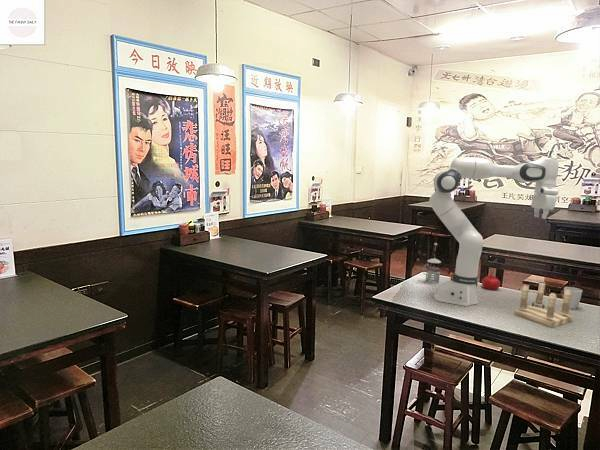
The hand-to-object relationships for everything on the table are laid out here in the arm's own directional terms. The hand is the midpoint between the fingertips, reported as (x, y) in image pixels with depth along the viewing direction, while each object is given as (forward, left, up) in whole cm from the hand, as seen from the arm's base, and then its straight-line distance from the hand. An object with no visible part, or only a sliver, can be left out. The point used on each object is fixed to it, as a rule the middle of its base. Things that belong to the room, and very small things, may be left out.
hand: (540, 217), depth 211 cm
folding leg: (+3, -4, -43) cm, 43 cm away
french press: (-48, +26, -47) cm, 72 cm away
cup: (+22, +9, -47) cm, 53 cm away
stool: (+3, -14, -47) cm, 49 cm away
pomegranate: (-14, +29, -48) cm, 57 cm away
